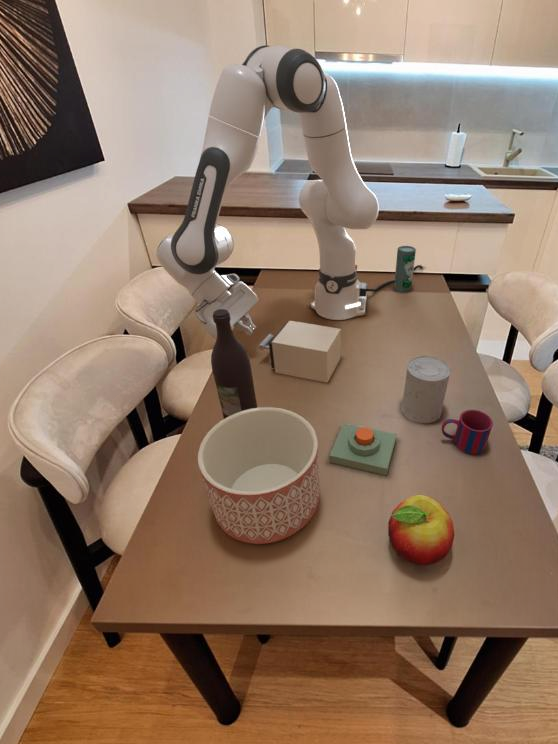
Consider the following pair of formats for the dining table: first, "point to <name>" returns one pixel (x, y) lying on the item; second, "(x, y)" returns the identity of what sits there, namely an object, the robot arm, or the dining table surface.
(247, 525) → the planter
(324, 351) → the cream cardboard box
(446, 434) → the mug
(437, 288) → the dining table surface
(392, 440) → the box
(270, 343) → the drawer
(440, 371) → the gray concrete cylinder
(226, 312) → the wine bottle
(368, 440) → the button
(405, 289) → the can
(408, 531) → the fruit
